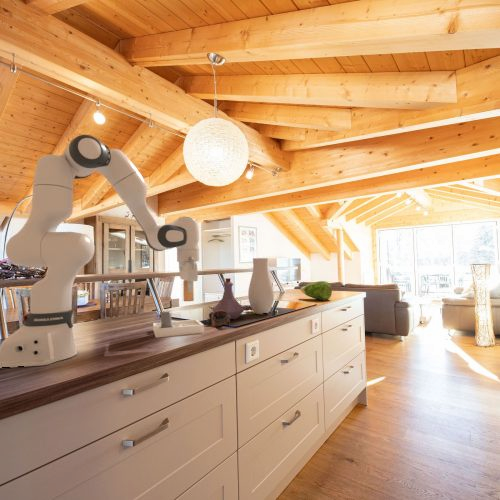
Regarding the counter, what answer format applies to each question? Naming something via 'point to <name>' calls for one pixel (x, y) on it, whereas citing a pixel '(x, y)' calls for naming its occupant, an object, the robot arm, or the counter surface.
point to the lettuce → (318, 290)
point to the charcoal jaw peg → (166, 319)
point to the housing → (178, 328)
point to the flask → (229, 302)
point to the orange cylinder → (187, 295)
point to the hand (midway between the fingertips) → (188, 291)
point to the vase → (260, 287)
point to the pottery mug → (219, 318)
